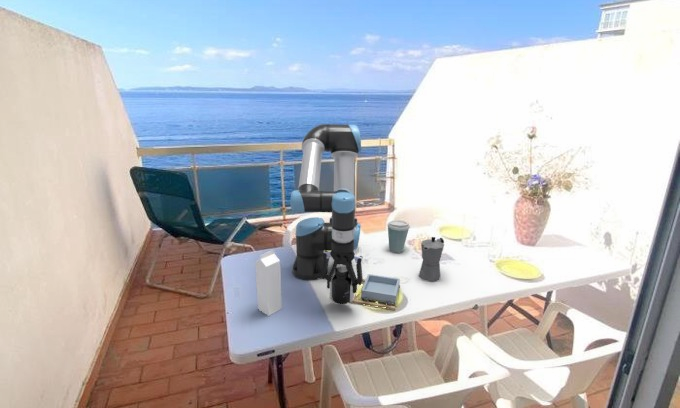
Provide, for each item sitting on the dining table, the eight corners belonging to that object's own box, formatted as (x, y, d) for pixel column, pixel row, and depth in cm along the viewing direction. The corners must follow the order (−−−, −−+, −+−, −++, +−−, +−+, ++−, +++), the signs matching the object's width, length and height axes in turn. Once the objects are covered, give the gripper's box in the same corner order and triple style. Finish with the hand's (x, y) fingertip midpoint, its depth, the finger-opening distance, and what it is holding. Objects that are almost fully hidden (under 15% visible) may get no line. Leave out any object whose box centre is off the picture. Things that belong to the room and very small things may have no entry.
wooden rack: (332, 299, 128) (332, 294, 127) (344, 278, 143) (344, 273, 143) (394, 310, 122) (395, 304, 121) (400, 286, 137) (400, 281, 137)
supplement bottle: (349, 306, 119) (350, 275, 115) (330, 303, 120) (330, 273, 116) (352, 295, 125) (353, 265, 121) (334, 292, 126) (334, 263, 123)
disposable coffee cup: (382, 247, 173) (383, 219, 169) (401, 245, 177) (403, 217, 172) (391, 256, 164) (393, 226, 159) (411, 253, 167) (414, 224, 162)
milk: (282, 308, 122) (280, 252, 116) (268, 316, 118) (266, 258, 111) (270, 302, 126) (268, 246, 119) (257, 309, 121) (254, 252, 115)
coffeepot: (431, 286, 138) (435, 245, 133) (411, 278, 144) (414, 238, 139) (449, 273, 149) (454, 234, 143) (430, 266, 155) (434, 228, 150)
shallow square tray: (360, 301, 126) (360, 291, 125) (368, 282, 139) (368, 273, 138) (394, 307, 123) (395, 296, 122) (399, 287, 136) (400, 277, 135)
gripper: (311, 239, 114) (311, 299, 122) (369, 247, 109) (366, 309, 117) (318, 231, 121) (318, 287, 128) (373, 238, 116) (370, 296, 123)
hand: (341, 297), depth 122 cm, fingers closed on supplement bottle, 7 cm apart
